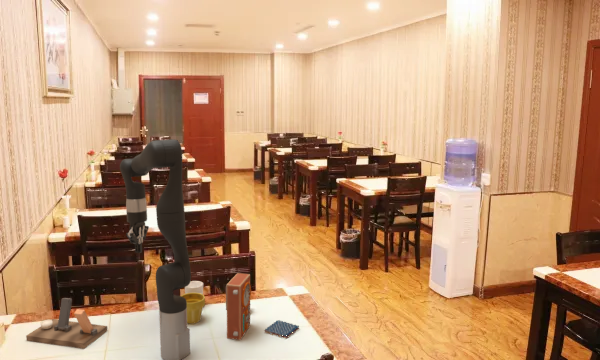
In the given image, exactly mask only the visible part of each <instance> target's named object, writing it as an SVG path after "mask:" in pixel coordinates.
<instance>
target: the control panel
mask: <svg viewBox="0 0 600 360" xmlns="http://www.w3.org/2000/svg"><path fill="white" fill-rule="evenodd" d="M251 286H252V285H251V274H250V273H241V272H237V273H236V274H235V275H234V276H233V277H232V278H231V279H230V281H229V282H228V283H226V286H225V310H226V338H227V339H228V340H238V341H241V339H242V338H243V337H244V335H245V334H246V332H247V330H248V329H249V327H251V296H252V287H251Z"/></svg>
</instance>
